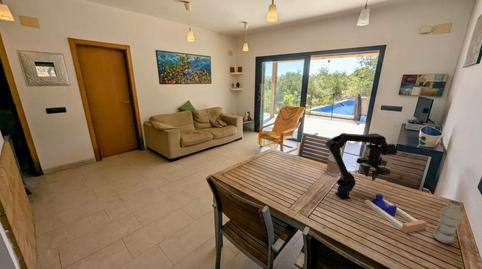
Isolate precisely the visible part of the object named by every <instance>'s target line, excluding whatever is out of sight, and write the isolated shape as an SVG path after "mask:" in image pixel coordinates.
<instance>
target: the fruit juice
mask: <svg viewBox="0 0 482 269" xmlns="http://www.w3.org/2000/svg"><path fill="white" fill-rule="evenodd" d="M337 143H338V142H337ZM340 150H341V152H340V155H341V157H342V154H343V149H342V147H341V148H340ZM328 153H329V155H328V157H327V166H326V174H328V176H331V177H338V176H339V177H340V175H341V173H340V171H339V169H338V166H337V164H336V162H335V160H334V157H333V155H332V154H331V153H330V151H329V150H328ZM342 158H343V157H342Z"/></svg>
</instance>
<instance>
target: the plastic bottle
mask: <svg viewBox="0 0 482 269" xmlns="http://www.w3.org/2000/svg"><path fill="white" fill-rule="evenodd" d="M461 209H462V204H461V203H460V202H458V201H455V200H449V201H448V203H447V205H446V206H444V207H442V208H441V210H440V216H439V221H438V224H437V226H436V228H435V229H434V230H433V237H434V239H435V240H436V241H439V242H440V243H443V244H446V245H451V244H453V242H454V241H455V234H456V230H457V227H458V225H459V224H460V222H461V221H462V219H463V213H462V211H461Z"/></svg>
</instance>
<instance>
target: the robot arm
mask: <svg viewBox="0 0 482 269" xmlns="http://www.w3.org/2000/svg"><path fill="white" fill-rule="evenodd" d="M337 142H338V143H337ZM347 142H357V143H358V142H359V143H367V145H366V146H365V147H367V148H368V149H369V150H368V151H369V152H368V155H366V157H359V158H357V159H356V163H357V164H359V165H360V167H361V168H362V170H363V174H364V176H365V178H368V177H369V173H370V169H371V168H373V169H374V170H372V171H371V181H375V180H376V178H378V176H379V175H380V176H388V175H391V169H389V168H387V164H388V163H389V162H388V160H385V159H383V157H381V155H382V156H396V155H397V154H398V149H397V147H396V144H394V143H388V142H387V140H386V137H385V136H384V135H381V134H379V133H376V132H375V133H373V132H372V133H368V134H357V133H346V132H342V133H340V134H339V135H336V136H335V137H332V138H331V139H330V140H327V141H326V142H325V147H326V149H327V151H328V152H329V151H330V153H331V154H332V155H333V157H334V160H335V162H336V164H337V166H338V169H339V171H340V174H339V177H340V178H339V179H338V180H337V181H336V184H337V185H338V186H337V191H336V192H335V193H334V195H335V196H336V197H337V198H339V199H340V200H341V201H342V200H348V199H351V196H350V192H352V190H353V189H354V188H355V186H356V182H357V181H356V180H355V176H354V175H353V174H352V173H351V172H350V171H349V170H348V169H347V166H346V164H345V162H344V160H343V157H341V156H342V155H340V152H341V150H340V148H341V149H342V148H343V147H344V146H345V145H346V143H347ZM330 153H329V154H330Z"/></svg>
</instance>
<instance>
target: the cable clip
mask: <svg viewBox="0 0 482 269" xmlns="http://www.w3.org/2000/svg"><path fill="white" fill-rule="evenodd" d="M383 199H384V195H383V194H381V193H377V194H375V198H372V201H371V202H372V203H373V204H375V205H376V206H378V207H379V208H381V209H382V210H383V211H385V212H386V213H388V214H389V215H390V216H392V217H395V216H396V214H397V213H396V209H397V207H398V206H396V205H394V204H393V205H389V207H387V206H386V205H385V204H384V201H383Z"/></svg>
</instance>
